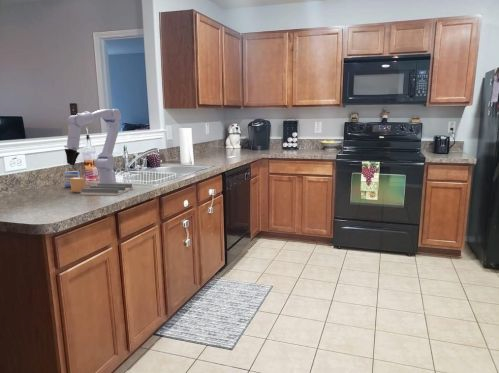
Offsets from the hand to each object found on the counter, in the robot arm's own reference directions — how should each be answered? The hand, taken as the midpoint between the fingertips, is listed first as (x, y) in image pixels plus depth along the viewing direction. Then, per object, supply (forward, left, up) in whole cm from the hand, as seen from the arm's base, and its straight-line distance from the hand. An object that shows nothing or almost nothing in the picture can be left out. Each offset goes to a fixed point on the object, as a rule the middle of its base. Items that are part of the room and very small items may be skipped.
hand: (70, 164), depth 197 cm
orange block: (-5, -1, -15) cm, 16 cm away
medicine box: (-17, -13, -15) cm, 26 cm away
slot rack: (-5, +16, -15) cm, 23 cm away
